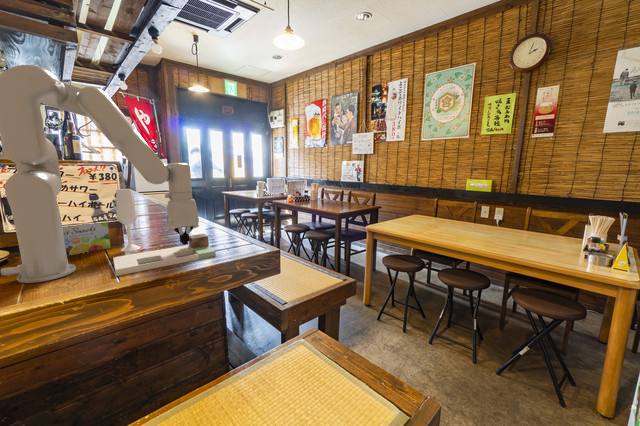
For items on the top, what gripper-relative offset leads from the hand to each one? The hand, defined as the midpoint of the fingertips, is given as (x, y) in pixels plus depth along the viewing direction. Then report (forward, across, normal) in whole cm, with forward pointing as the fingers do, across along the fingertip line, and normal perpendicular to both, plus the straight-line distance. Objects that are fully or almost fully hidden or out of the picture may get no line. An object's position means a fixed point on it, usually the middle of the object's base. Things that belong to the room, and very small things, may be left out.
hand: (184, 243), depth 102 cm
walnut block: (+2, +5, 0) cm, 5 cm away
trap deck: (+4, -7, -4) cm, 9 cm away
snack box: (+4, -33, +25) cm, 42 cm away
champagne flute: (+4, -16, +19) cm, 25 cm away
